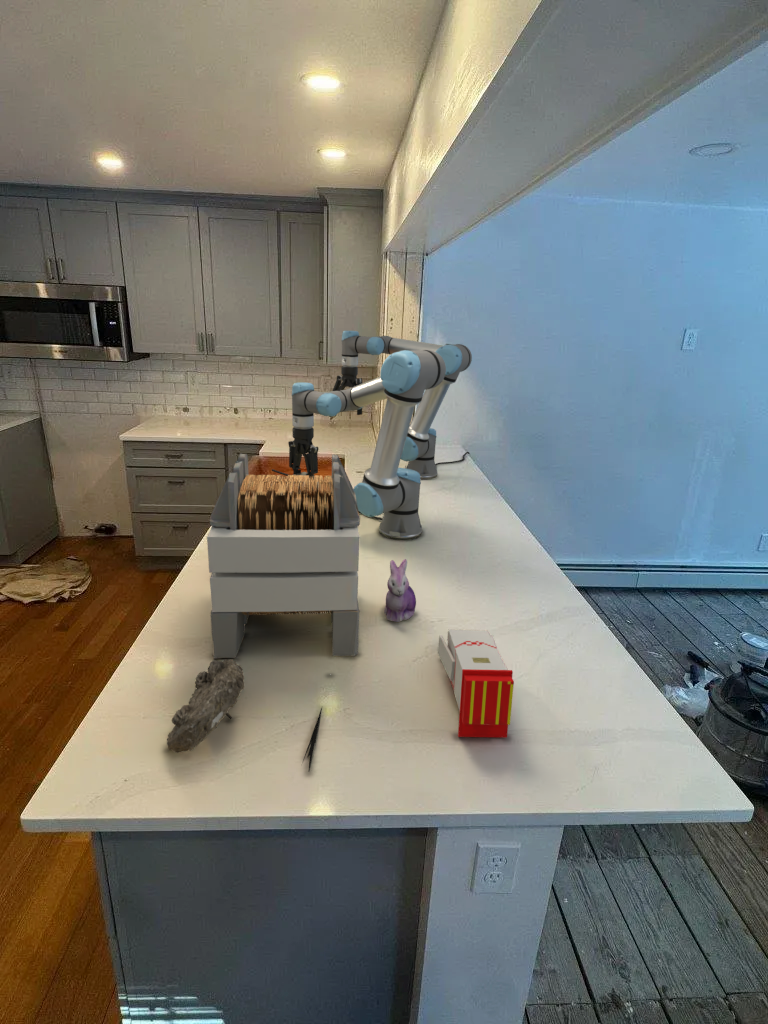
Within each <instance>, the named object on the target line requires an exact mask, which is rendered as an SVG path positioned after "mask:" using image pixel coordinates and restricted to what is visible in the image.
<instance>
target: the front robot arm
mask: <svg viewBox="0 0 768 1024" xmlns="http://www.w3.org/2000/svg"><path fill="white" fill-rule="evenodd" d="M379 373H380V374H379V375H380V376H378V377H375V378H373V379H370V380H367V381H365V382H362V384H360V385H357V386H355V385H354V387H352V388H351V387H348V388H347V389H344V390H340V391H333V390H331V391H317V390H315V387H314V384H313V383H311V382H303V381H302V382H294V383H293V384H292V388H291V411H292V412H291V414H292V416H291V417H292V431H291V432H292V438H293V439H294V440H289V441H288V442H287V444H288V456H289V457H288V468H290V469H292V473H293V474H298V473H302V468H301V462H302V459H303V458H304V463H305V469H306V473H307V474H306V475H309V478H310V477H311V479H312V477H313V479H314V476H315V474H318V473H319V463H318V462H319V456H318V454H319V453H318V452H319V450H320V449H319V447H318V446H315V445H314V443H313V439H314V437H315V430H314V429H315V428H314V426H315V421H314V420H315V418H314V417H315V416H314V415H315V414H316V415H319V416H324V417H335V416H337V415H338V414H339V413H344V412H351V411H352V412H354V411H357V410H358V409H361V408H362V409H363V408H364V407H366V406H368V405H372V404H375V403H377V402H380V401H383V400H386V402H385V407H384V411H383V414H382V419H381V423H380V427H379V431H378V435H377V440H376V443H375V448H374V452H373V456H372V460H371V465H370V467H369V468H367V469H365V471H364V473H363V477H362V481H361V482H358V483H357V484H356V485H355V486H353V489H354V492H355V496H356V501H357V506H358V511H359V515H362V516H364V517H367V518H370V519H373V520H377V521H381V522H379V526H378V533H379V534H380V535H381V536H382V537H385V538H387V539H389V540H395V541H410V540H415V539H418V538H420V537H421V536H422V535H423V525H422V524H421V518H420V515H419V507H420V506H419V505H420V494H421V493H420V492H421V479H420V474H419V473H418V472H417V471H414V470H411V469H406V468H405V467H399V466H400V463H401V456H402V452H403V448H404V444H405V441H406V437H407V433H408V429H409V426H410V424H411V422H412V419H413V416H414V415H413V414H414V411H415V407H416V406H417V405H419V404H420V402H421V401H422V397H423V395H424V392H425V390H427V389H431V388H434V387H436V386H438V385H439V384H440V383H441V382H442V381H443V379H444V377H445V373H446V365H445V362H444V360H443V358H442V357H441V356H440V355H439V354H438V353H436V352H434V351H431V350H415V351H409V350H403V351H400V352H395V353H393V354H388V356H387V357H385V359H384V361H383V363H382V365H381V369H380V372H379ZM302 457H303V458H302ZM271 472H274V473H277V474H278V475H281V476H284V477H285V476H286V477H287V476H288V475H290V474H288V473H285V472H282V471H280V470H276V469H274V468H272V469H271ZM293 474H292V475H293ZM381 515H382V517H380V516H381Z"/></svg>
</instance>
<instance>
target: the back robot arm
mask: <svg viewBox="0 0 768 1024" xmlns="http://www.w3.org/2000/svg"><path fill="white" fill-rule="evenodd" d="M403 350H409V351H415V350H431V351H434V352H436V353H438V354H439V355H440V356H441V357H442V358H443V360H444V362H445V365H446V373H445V377H444V379H443V381H442V382H441V383H440V384H439V385H438V386H436V387H434V388H431V389H427V390H424V393H423V397H422V401H421V402H420V403H418V406H417V408H416V409H415V410H416V411H415V413H414V415H413V416H412V418H411V422H410V426H409V429H408V433H407V437H406V441H405V444H404V448H403V452H402V456H401V459H400V461H402V462H407V464H406V465H405V466H404V468H406V469H411V470H414V471H417V472H418V473H419V474H420V480H432V479H435V478H437V477H438V470H437V466H438V465H447V464H455V463H456V464H457V463H461V462H462V461H464V460H465V456H466V455H467V454H468V455H471V454H470V451H466V452H465V453H464V454H463V455H462V459H459V460H458V459H457V460H453V461H442V462H435V461H436V460H435V458H436V457H435V455H436V445H437V444H436V443H437V430H436V429H435V428H431V427H432V424H433V422H434V421H435V418H436V416H437V413H438V411H439V410H440V408H441V405H442V403H443V401H444V399H445V397H446V395H447V393H448V391H449V388H450V386H451V385H452V384H455V383H456V382H457V379H458V377H459V375H460V373H462V372H465V371H466V370H467V369H468V368H469V367H470V366H471V364H472V361H473V355H472V351H471V350H470V349H469V347H468V346H466V345H465V344H461V343H455V344H453V343H452V344H451V343H445V344H444V345H442V344H438V343H437V344H436V343H429V342H425V341H417V340H411V339H405V338H397V337H392V336H389V335H380V336H378V335H376V336H363V335H360V332H359V331H358V330H343V331H342V333H341V367H340V368H341V369H340V371H341V372H340V375H336V381H335V383H334V385H333V388H332V391H340V390H346V389H345V388H347V387H348V388H352V387H354V386H357V385H360V384H362V383H363V378H362V377H357V376H358V375H359V367H358V366H359V354H363V355H371V356H380V355H381V354H386V355H391V354H393V353H395V352H400V351H403ZM356 415H357V416H362V415H363V408H361V409H358V410H356Z"/></svg>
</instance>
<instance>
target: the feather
mask: <svg viewBox="0 0 768 1024" xmlns="http://www.w3.org/2000/svg"><path fill="white" fill-rule="evenodd" d="M329 675H330V676H331V675H332V674H331V673H330V674H329ZM322 710H323V707H321V708H320V710H319V713H318V716H317V719H316V723H315V725H314V728H313V731H312V733H311V737H310V739H309V742H308V745H307V748H306V751H305V754H304V757H303V760H302V763H301V767H302V765H303V763H304V761H305V758H308V759H309V760H308V762H307V763H308V764H307V766H308V771H310V770H311V766H312V765H311V764H312V760H313V757H315V756H314V755H315V751H316V749H315V746H317V739H318V733H319V729H320V722H321V717H322V712H323V711H322ZM313 754H314V755H313ZM306 755H307V757H306Z"/></svg>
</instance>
